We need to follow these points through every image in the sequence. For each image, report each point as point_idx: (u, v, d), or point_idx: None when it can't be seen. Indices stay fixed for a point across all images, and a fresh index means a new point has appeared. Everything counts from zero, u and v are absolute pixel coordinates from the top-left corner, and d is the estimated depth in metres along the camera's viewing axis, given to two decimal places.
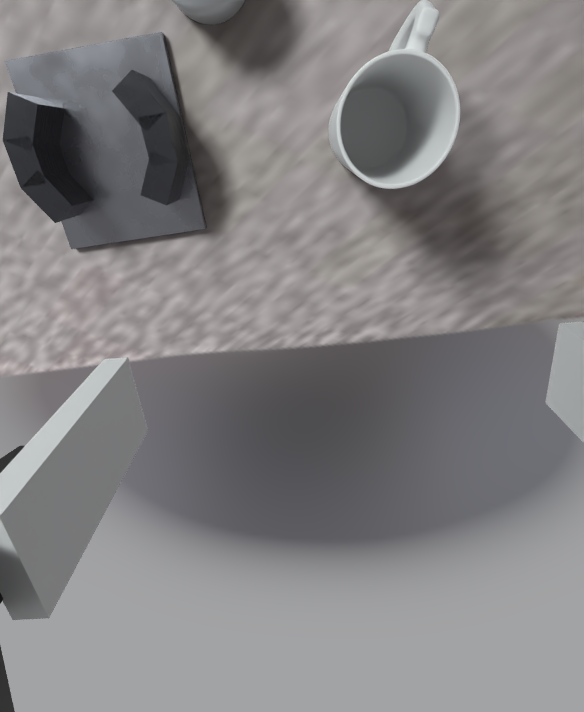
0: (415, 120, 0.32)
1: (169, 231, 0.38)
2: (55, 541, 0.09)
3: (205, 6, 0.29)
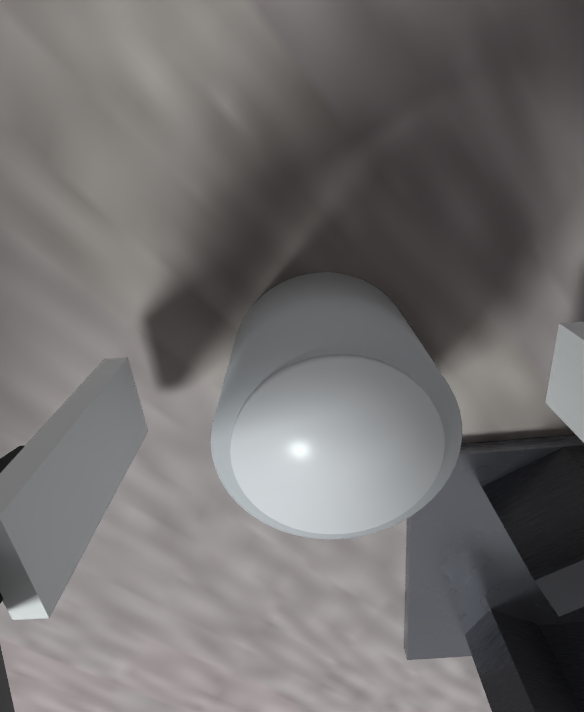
0: None
1: None
2: (55, 541, 0.09)
3: None
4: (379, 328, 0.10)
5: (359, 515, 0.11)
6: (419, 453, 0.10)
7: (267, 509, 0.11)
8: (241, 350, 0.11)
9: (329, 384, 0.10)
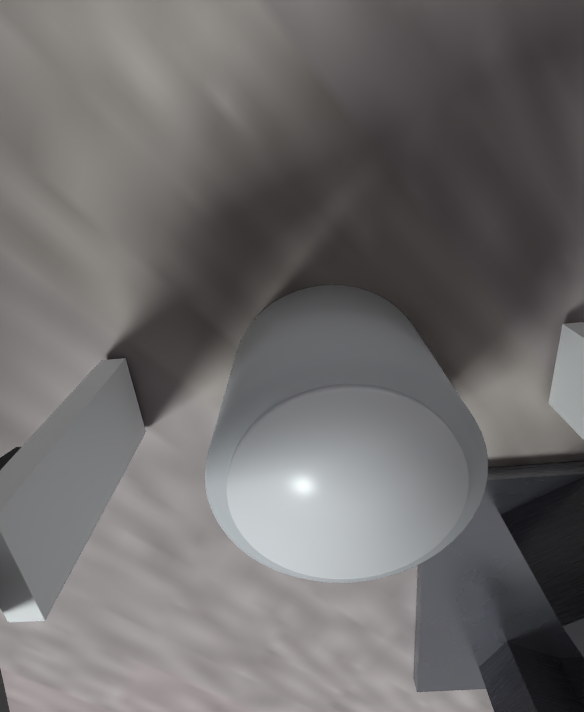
0: None
1: None
2: (51, 543, 0.09)
3: None
4: (395, 353, 0.09)
5: (370, 559, 0.10)
6: (440, 493, 0.09)
7: (268, 552, 0.10)
8: (239, 374, 0.10)
9: (338, 418, 0.08)
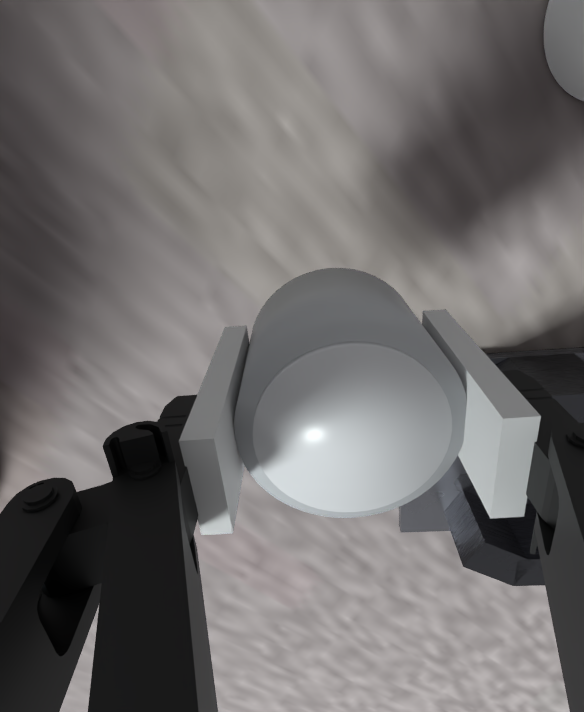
0: None
1: None
2: (231, 470, 0.11)
3: None
4: (391, 318, 0.11)
5: (371, 494, 0.12)
6: (428, 434, 0.11)
7: (285, 488, 0.12)
8: (261, 339, 0.12)
9: (346, 369, 0.10)
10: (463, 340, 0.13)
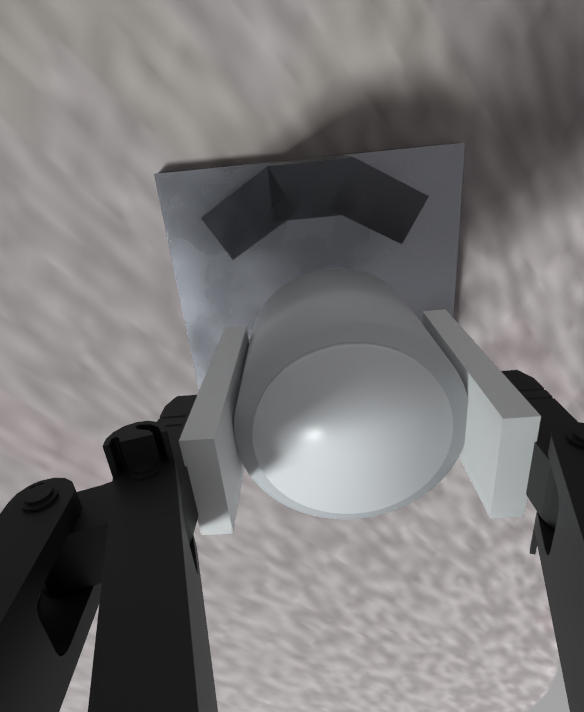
0: None
1: (455, 215, 0.21)
2: (231, 470, 0.11)
3: None
4: (393, 318, 0.11)
5: (372, 495, 0.12)
6: (429, 436, 0.11)
7: (285, 489, 0.12)
8: (261, 339, 0.12)
9: (346, 369, 0.10)
10: (463, 340, 0.13)
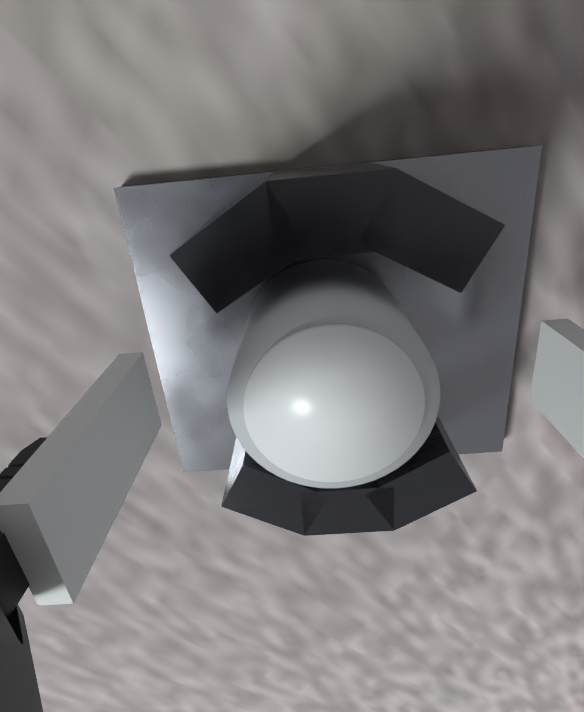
0: None
1: (522, 243, 0.16)
2: (78, 529, 0.10)
3: None
4: (370, 302, 0.12)
5: (352, 465, 0.13)
6: (403, 409, 0.12)
7: (273, 458, 0.13)
8: (253, 322, 0.13)
9: (327, 348, 0.12)
10: None
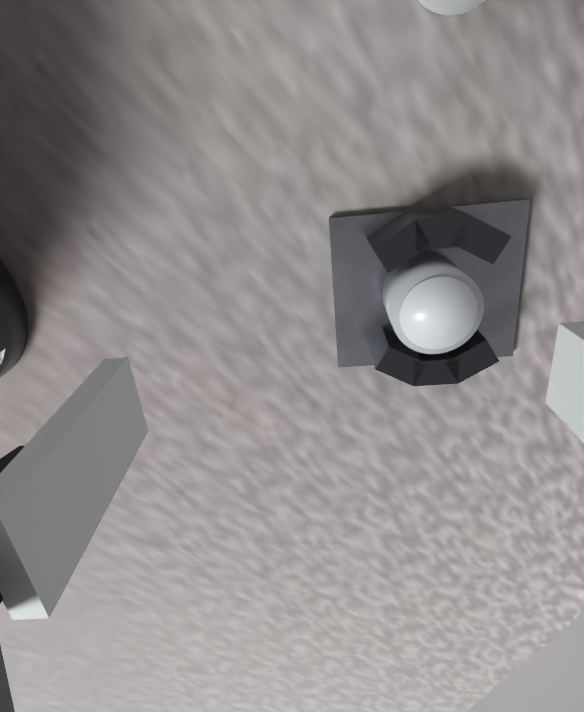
0: None
1: (522, 244, 0.32)
2: (55, 541, 0.09)
3: None
4: (454, 268, 0.29)
5: (444, 340, 0.30)
6: (468, 313, 0.29)
7: (409, 337, 0.30)
8: (400, 278, 0.30)
9: (438, 286, 0.29)
10: None
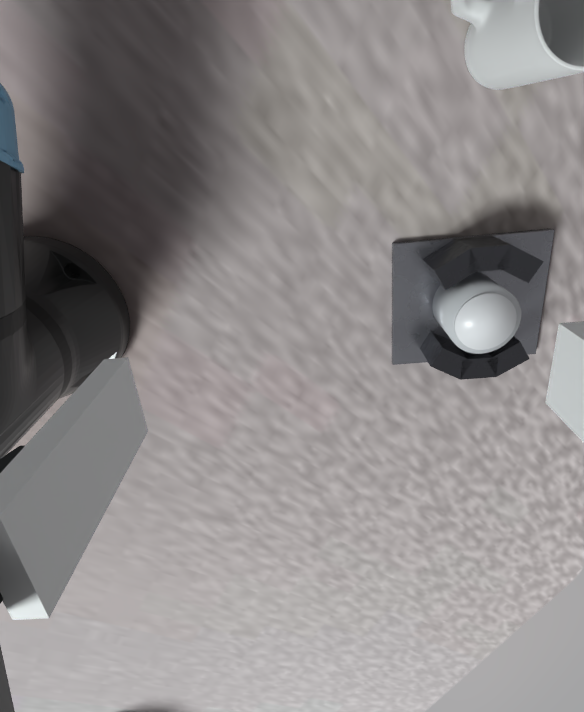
0: None
1: (546, 265, 0.40)
2: (55, 541, 0.09)
3: None
4: (499, 286, 0.37)
5: (489, 343, 0.38)
6: (509, 322, 0.37)
7: (462, 340, 0.38)
8: (454, 294, 0.38)
9: (487, 300, 0.36)
10: None
